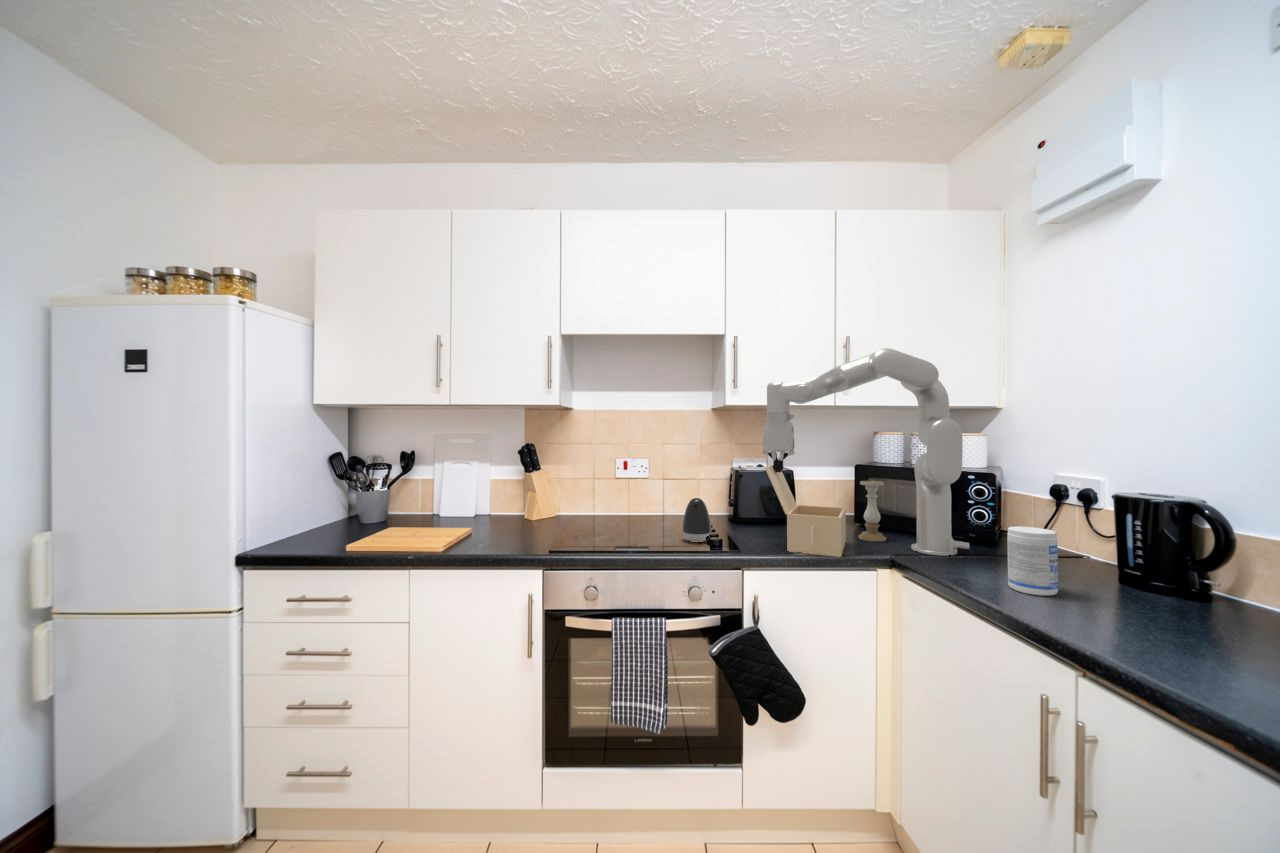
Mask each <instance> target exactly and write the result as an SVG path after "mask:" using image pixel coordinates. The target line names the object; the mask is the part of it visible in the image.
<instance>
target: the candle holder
mask: <svg viewBox="0 0 1280 853" xmlns="http://www.w3.org/2000/svg"><path fill="white" fill-rule="evenodd" d="M859 484H860V485H862V486H865V489H866V491H867V494H866V495H865V497H866V498H867V505H866V509H865V511H864V514H863V519H864V520H865V523H864V526H865V527H866V531H862V532H861V534H858V539H859V540H862V541H866V542H871V543H872V542H873V543H880V542H881V543H882V542H886V541H887V536H884V535H883V533H882V532H879V531H878V528H879V527H880V524H879V522H880V521H881V517H882V516H881V514H880V512H879V509H878V506H877V498H879V496H878V495H877V491H878V490H879V486H881V487H882V486H884V485H885V483H884V482H883V481H879V480H878V481H877V480H861V481H860V482H859Z"/></svg>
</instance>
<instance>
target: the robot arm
mask: <svg viewBox="0 0 1280 853" xmlns="http://www.w3.org/2000/svg"><path fill="white" fill-rule="evenodd" d="M939 376H940V374H939V369H938V368H937V367H936V365H934V364H933V363H932V362H930V361H928V360H925V359H922V358H919V357H916V356H914V355H910V354H908V353H905V352H902V351H899V350H896V349H894V348H893V349H892V348H885V347H884V348H880V349H878V350H876V351H875V352H874V353H870V354H868V355H865V356H863V357H860V358H856V359H853V360H851V361H848V362H846V363H843V364H840V365H837V366H835V367H833V368H832V369H830V370H828V371H826V372H825V373H822V374H820V375H817V376H815V377H812V378H809V379H806V380H797V381H790V382H789V381H788V382H786V381H785V382H783V381H773V382H770V383H768V384H767V386H766V422H764V426H763V427H764V428H763V433H762V434H763V435H762V451H761V452H762V454H763V455H766V456H769V457H770V459H771V460H772V461H773V465H774V470H775V472H782V473H783V470H784V460H785V459H786V458H787V457H789V456H794V455H795V447H796V446H795V432H794V430H795V429H794V425H793V422H790V421H792V419H793V420H795V414H791V413H790V409H791V408H790V406H791V404H790V403H795V404H797V405H803V404H806V403H809V402H812V401H815V400H817V399H818V400H819V399H821V398H823V397H827V396H829V395H833V394H838V393H843V392H845V391H847V390H851V389H853V388H856V387H859V386H862V385H865V384H867V383H871V382H873V381H876V380H879V379H882V378H885V377H888V378H891V379H893V380H895V381H899V382H900V385H902V387H903V388H904V389H905V390H907V391H910V392H911V393H912V394H913V395H914V396H915V398H916V401H917V406H918V418H917V420H918V422H917V424H918V426H917V437H918V440H919V442H920V443H921V444H922V445H925V446H926V452H924V453H922V454H920V456H918V457H917V458H916V461H915V462H914V467H913V468H914V469H913V470H914V478H915V487H916V488H915V489H916V542H915V543H912V544H911V545H910V546H911V550H912V551H914V552H916V551H917V552H916V553H920V554H925V555H930V556H941V557H942V556H944V557H945V556H946V557H947V556H949V555H951V556H955V555H957V554H958V549H963V550H964V549H965V550H969V549H970V542H966V541H965V542H964V541H959V540H954V538H953V537H952V489H951V485H952V484H953V483H955V482H956V481H957V480H959V478H960V476H961V474H962V471H963V470H962V469H963V442H964V441H963V433H962V429H961V427H960V425H959V424H958V423H957V421H955V420H953V419H952V418H950V417H951V416H950V400H949V399H950V398H949V394H948V392H947V389H946V388H945V385H943V384H942V382H941V381H940V380H939ZM777 452H780V453H779V458H778V454H777Z"/></svg>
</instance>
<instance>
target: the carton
mask: <svg viewBox="0 0 1280 853" xmlns="http://www.w3.org/2000/svg"><path fill="white" fill-rule="evenodd" d="M846 516H847V515H846V507H834V506H833V507H831V506H817V505H803V504H802V505H801V504H797V505H796V506H795V507H794V508H793V509H792V510H791V511H790V512H789V513H788V514H786V541H787V543H786V546H787V548H786V549H787V550H786V551H789V552H790V553H797V552H802V553H801V554H807V553H809V554H810V555H817V556H827V557H837V558H842V555H843V553H844V550H843V549H845V547H846V544H847V541H846V540H847V538H846V537H847V534H846V532H847V531H846V526H847V525H846V524H847V522H846ZM845 543H846V544H845ZM789 552H788V553H789Z"/></svg>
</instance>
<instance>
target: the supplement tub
mask: <svg viewBox="0 0 1280 853" xmlns="http://www.w3.org/2000/svg"><path fill="white" fill-rule="evenodd" d="M1006 538H1007V583H1008V586H1009V587H1010V588H1011V589H1013V590H1015V591H1017V592H1020V593H1023V594H1027V595H1028V594H1029V595H1035V596H1042V597H1043V596H1047V597H1048V596H1049V597H1050V596H1056V595H1057V594H1058V592H1059V562H1058V559H1059V558H1058V557H1059V556H1058V553H1059V552H1058V551H1059V550H1058V537H1057V532H1056V531H1054V530H1052V529H1046V528H1042V527H1033V526H1009V527H1008V528H1007V537H1006Z"/></svg>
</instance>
